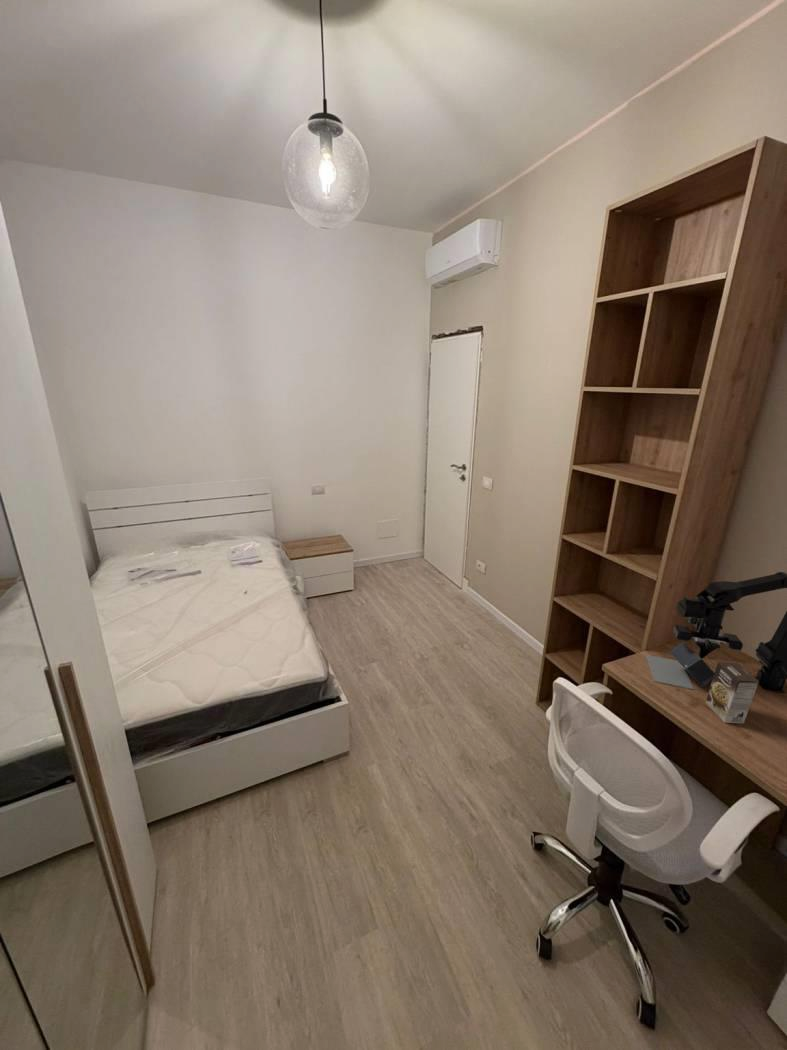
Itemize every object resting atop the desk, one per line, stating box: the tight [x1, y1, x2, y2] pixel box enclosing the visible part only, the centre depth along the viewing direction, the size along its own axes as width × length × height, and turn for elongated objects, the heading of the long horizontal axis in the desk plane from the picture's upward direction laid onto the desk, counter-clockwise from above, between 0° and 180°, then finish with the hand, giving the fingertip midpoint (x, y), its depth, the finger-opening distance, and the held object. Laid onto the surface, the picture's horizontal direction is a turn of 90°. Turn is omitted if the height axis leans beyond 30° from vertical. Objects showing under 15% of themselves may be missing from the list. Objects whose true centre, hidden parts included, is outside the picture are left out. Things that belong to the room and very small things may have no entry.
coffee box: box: [705, 661, 759, 724], centre depth 132 cm, size 9×6×16 cm
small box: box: [668, 641, 715, 688], centre depth 148 cm, size 11×6×10 cm
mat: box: [645, 654, 695, 691], centre depth 153 cm, size 12×16×1 cm
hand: (700, 657), depth 147 cm, fingers closed
